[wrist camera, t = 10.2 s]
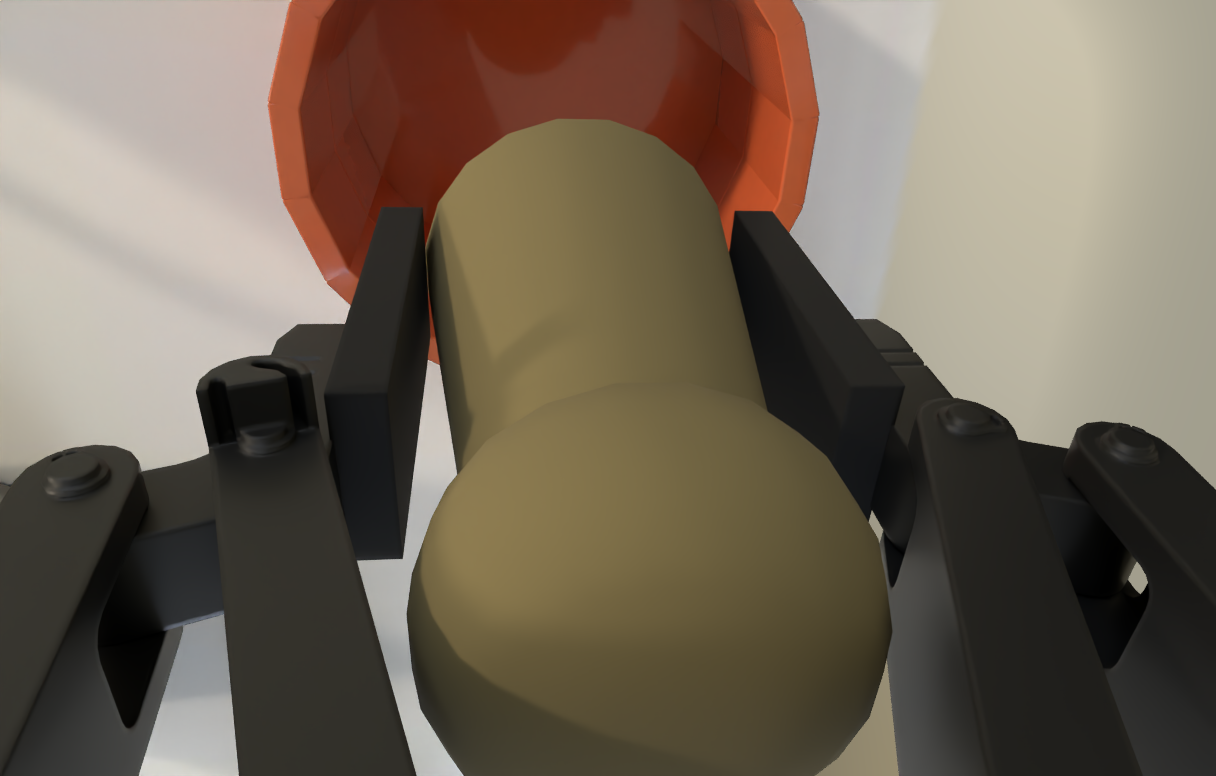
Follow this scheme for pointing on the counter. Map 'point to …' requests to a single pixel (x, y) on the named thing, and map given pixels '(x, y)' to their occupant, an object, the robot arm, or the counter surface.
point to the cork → (625, 490)
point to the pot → (528, 101)
